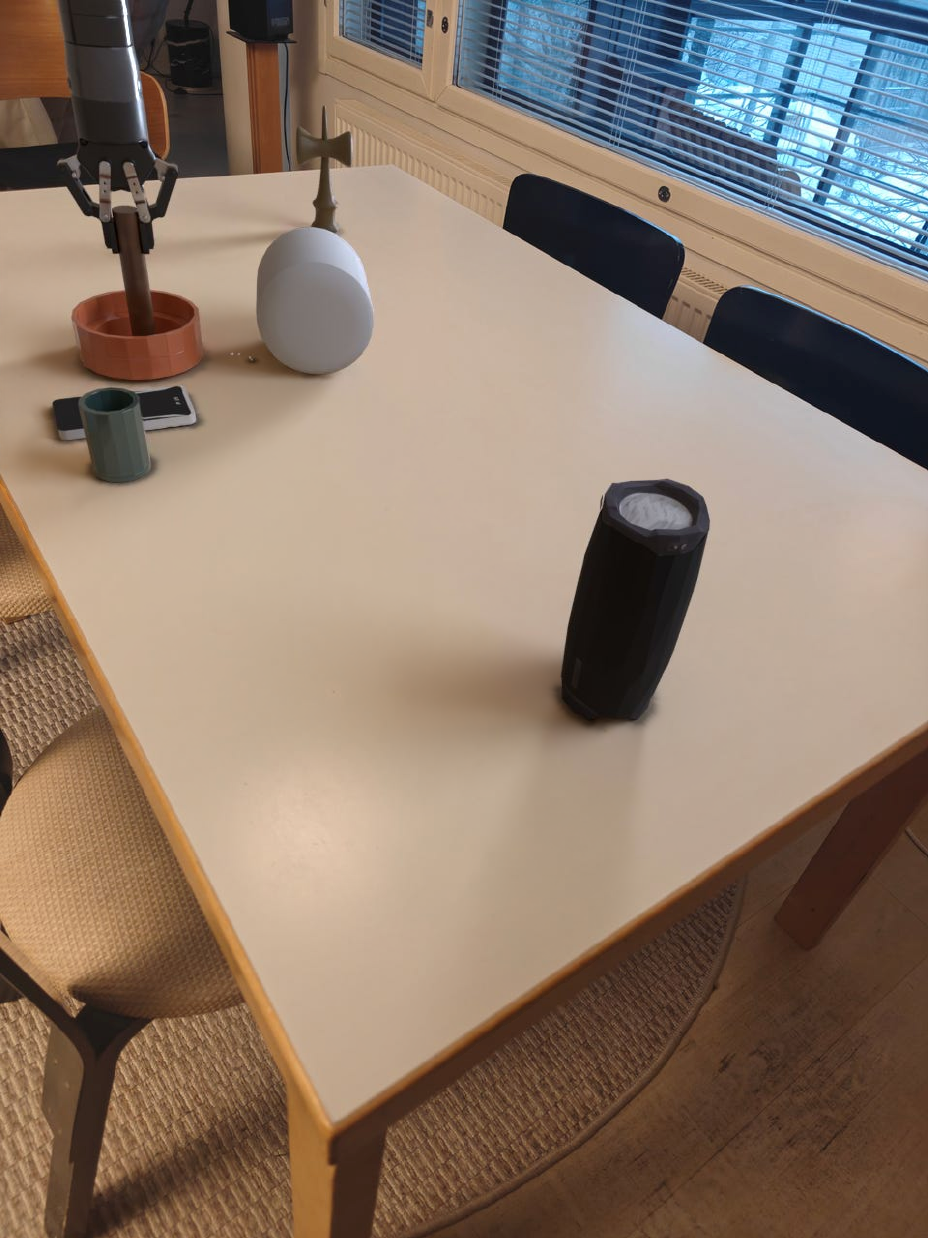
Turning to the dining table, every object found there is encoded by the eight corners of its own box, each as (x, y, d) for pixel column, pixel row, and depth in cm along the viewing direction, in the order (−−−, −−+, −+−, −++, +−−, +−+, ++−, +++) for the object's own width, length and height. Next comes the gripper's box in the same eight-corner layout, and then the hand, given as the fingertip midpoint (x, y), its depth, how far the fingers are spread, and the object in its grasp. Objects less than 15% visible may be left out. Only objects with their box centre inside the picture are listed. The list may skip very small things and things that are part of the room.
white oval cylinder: (204, 337, 108) (239, 242, 124) (288, 417, 117) (310, 318, 133) (314, 252, 99) (336, 161, 115) (395, 344, 108) (405, 249, 124)
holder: (92, 484, 90) (76, 415, 85) (95, 455, 94) (80, 387, 89) (150, 481, 92) (138, 413, 86) (150, 452, 96) (139, 385, 91)
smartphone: (51, 399, 100) (183, 384, 105) (54, 410, 101) (185, 394, 106) (57, 431, 95) (196, 414, 100) (60, 442, 96) (197, 424, 101)
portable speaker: (628, 651, 78) (685, 465, 66) (670, 728, 72) (743, 538, 59) (539, 660, 76) (581, 470, 63) (574, 740, 70) (628, 546, 57)
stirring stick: (132, 343, 111) (111, 212, 101) (133, 333, 114) (112, 204, 103) (156, 343, 112) (138, 213, 102) (156, 333, 114) (138, 205, 104)
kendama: (299, 224, 157) (294, 99, 144) (351, 226, 159) (352, 103, 146) (298, 235, 153) (294, 107, 140) (353, 237, 154) (353, 111, 141)
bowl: (77, 386, 105) (67, 339, 101) (84, 334, 116) (75, 289, 112) (206, 382, 109) (201, 336, 105) (201, 331, 120) (196, 288, 116)
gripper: (173, 86, 99) (190, 242, 110) (40, 78, 95) (72, 240, 107) (173, 101, 93) (191, 263, 105) (33, 93, 90) (67, 262, 101)
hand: (131, 251), depth 106 cm, fingers closed on stirring stick, 3 cm apart
